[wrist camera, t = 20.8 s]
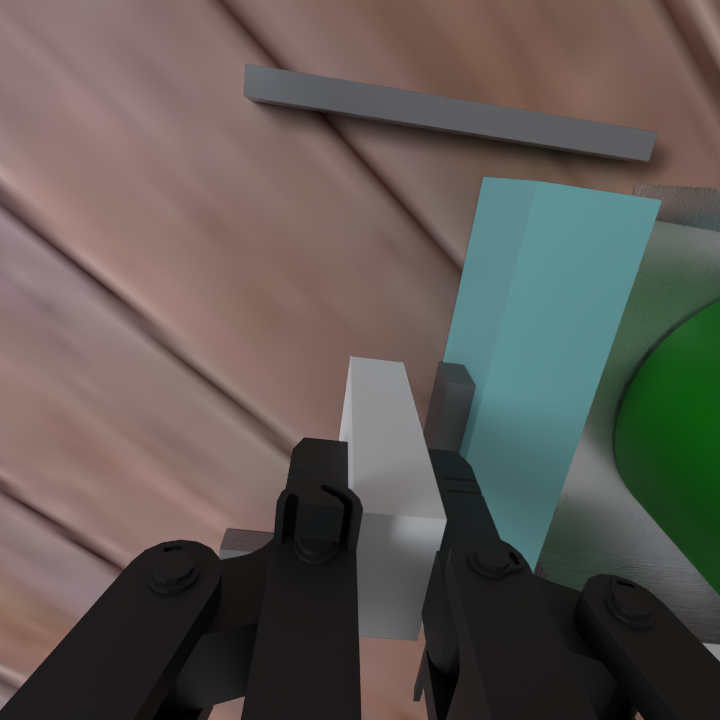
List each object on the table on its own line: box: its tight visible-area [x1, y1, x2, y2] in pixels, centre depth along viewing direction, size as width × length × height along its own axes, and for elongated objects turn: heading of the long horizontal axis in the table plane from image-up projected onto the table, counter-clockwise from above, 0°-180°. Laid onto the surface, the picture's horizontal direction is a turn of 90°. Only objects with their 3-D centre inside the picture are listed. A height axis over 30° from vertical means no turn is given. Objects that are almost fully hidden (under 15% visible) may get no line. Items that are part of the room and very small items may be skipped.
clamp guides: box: [219, 64, 658, 560], centre depth 18 cm, size 18×12×1 cm
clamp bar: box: [422, 177, 662, 629], centre depth 16 cm, size 14×4×5 cm, turn 172°
